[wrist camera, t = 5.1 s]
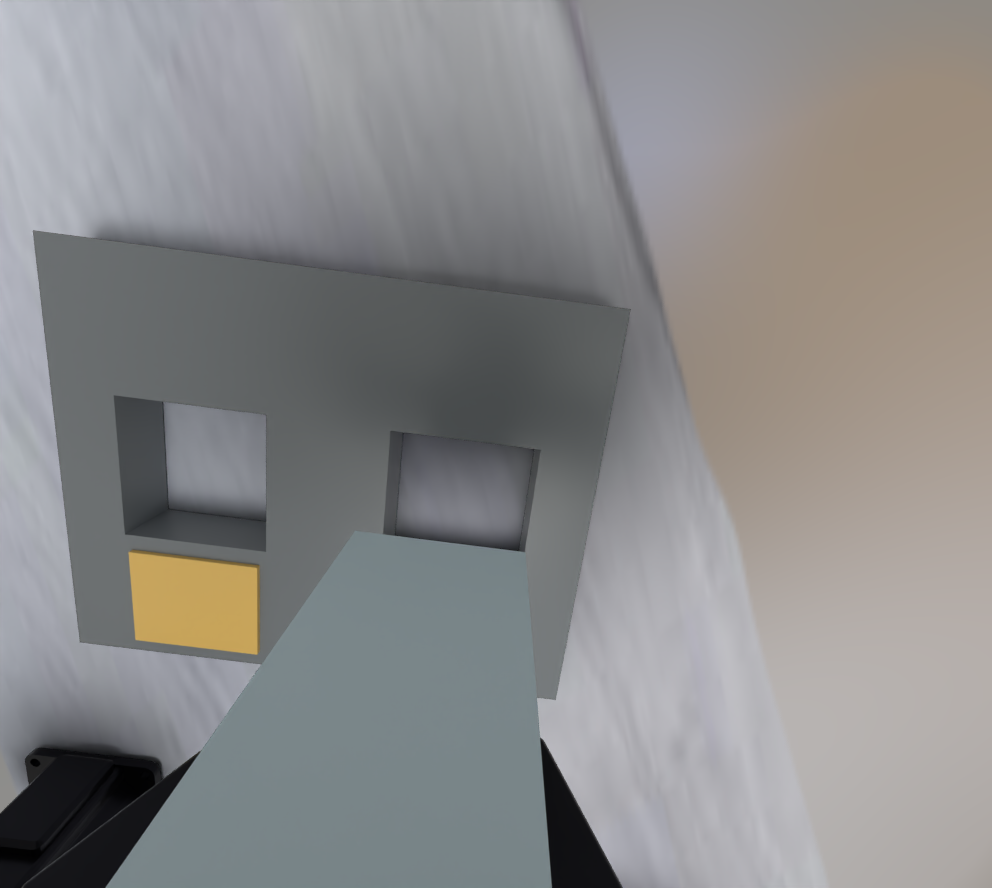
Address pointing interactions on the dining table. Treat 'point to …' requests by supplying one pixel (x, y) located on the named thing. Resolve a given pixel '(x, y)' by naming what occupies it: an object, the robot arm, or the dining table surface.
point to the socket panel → (301, 429)
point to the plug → (374, 739)
